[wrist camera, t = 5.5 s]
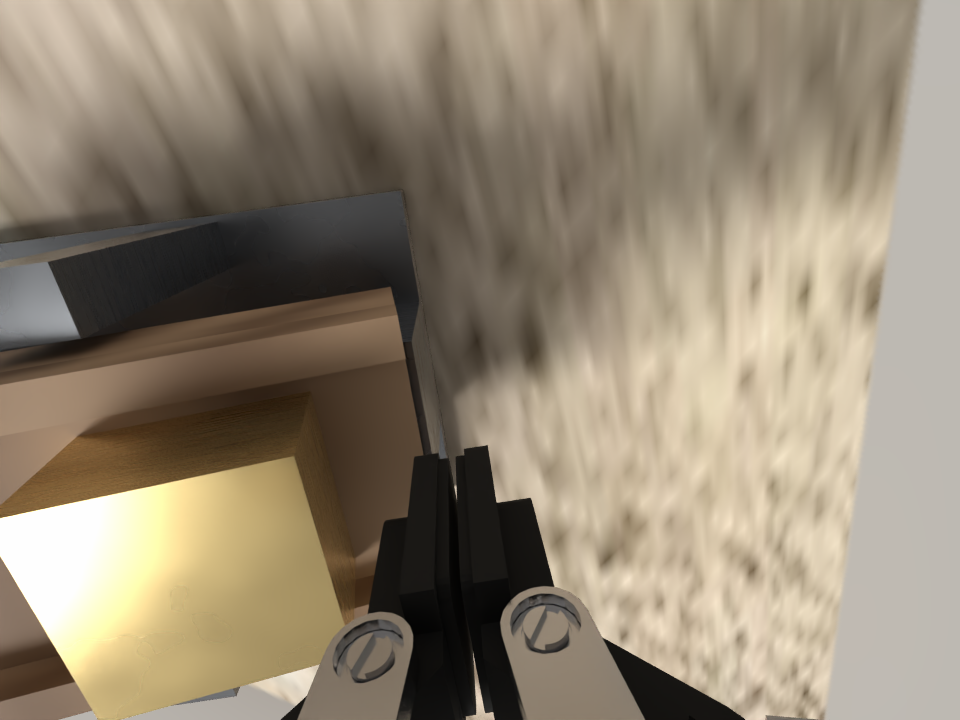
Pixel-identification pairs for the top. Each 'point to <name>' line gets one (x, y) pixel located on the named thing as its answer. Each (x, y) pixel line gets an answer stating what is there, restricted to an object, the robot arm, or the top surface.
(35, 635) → the beam
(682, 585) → the top surface
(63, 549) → the brass block
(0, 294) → the beam stand
